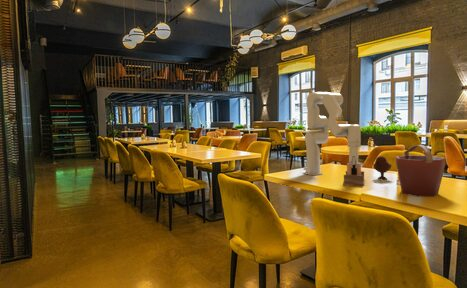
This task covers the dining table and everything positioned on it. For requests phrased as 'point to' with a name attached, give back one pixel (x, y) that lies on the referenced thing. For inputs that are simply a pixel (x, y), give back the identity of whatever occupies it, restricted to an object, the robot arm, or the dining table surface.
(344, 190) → the dining table surface
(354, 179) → the rack
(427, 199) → the dining table surface
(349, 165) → the tile
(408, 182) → the bucket
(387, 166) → the ice cream bowl
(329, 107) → the robot arm
